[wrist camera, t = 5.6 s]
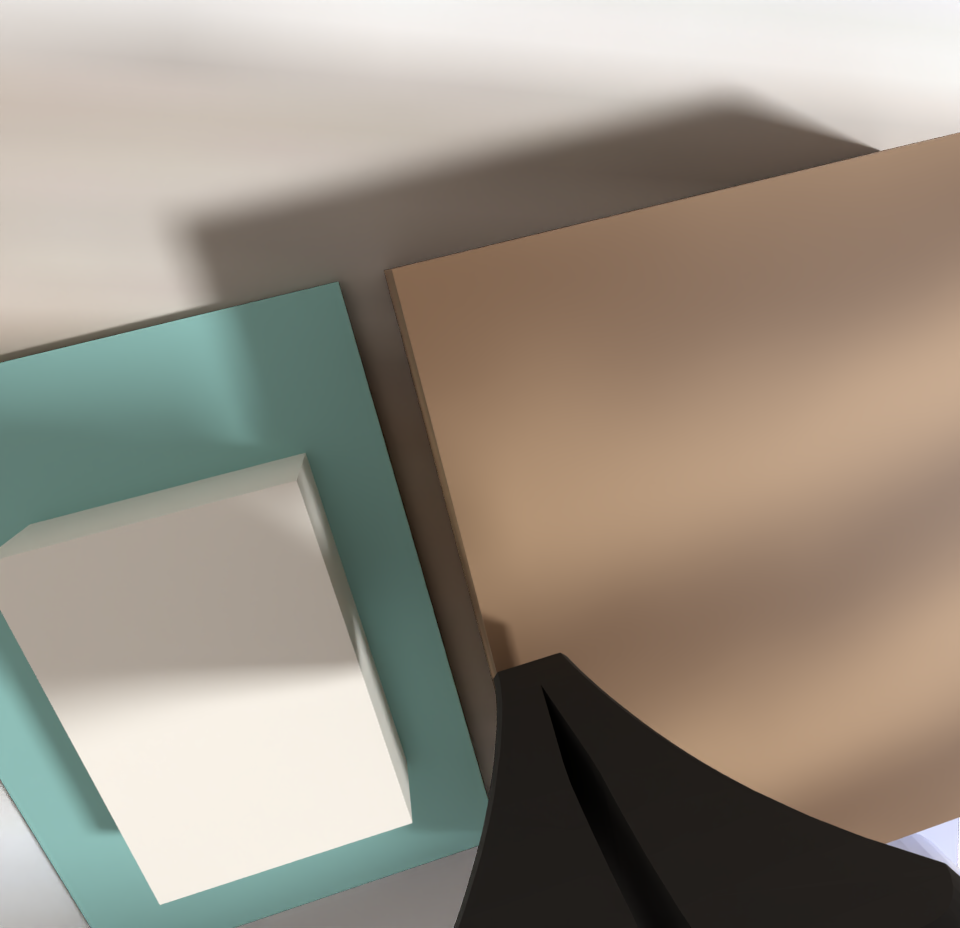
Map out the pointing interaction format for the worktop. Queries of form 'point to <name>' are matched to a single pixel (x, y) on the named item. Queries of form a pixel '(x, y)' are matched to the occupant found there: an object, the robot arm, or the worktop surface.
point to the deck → (724, 470)
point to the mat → (195, 456)
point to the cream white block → (211, 674)
